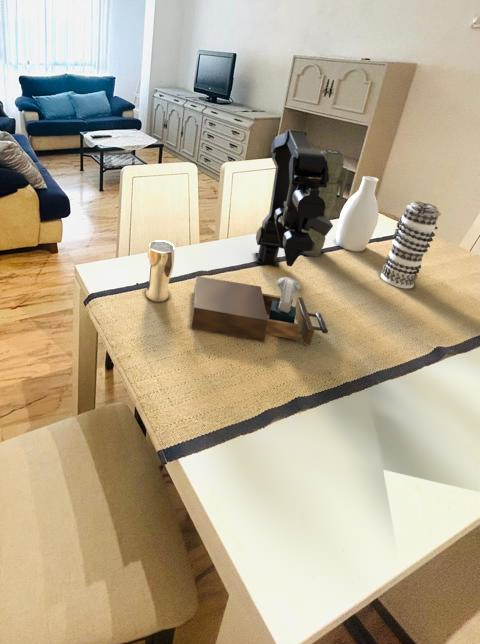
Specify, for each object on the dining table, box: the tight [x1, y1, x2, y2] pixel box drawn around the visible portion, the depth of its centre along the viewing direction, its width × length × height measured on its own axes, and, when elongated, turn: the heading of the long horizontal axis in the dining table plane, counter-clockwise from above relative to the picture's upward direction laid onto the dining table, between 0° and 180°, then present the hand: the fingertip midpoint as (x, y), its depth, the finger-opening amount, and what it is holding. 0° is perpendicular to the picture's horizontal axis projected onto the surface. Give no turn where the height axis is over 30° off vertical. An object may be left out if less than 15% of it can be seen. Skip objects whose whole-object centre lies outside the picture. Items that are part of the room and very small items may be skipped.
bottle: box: [335, 175, 379, 252], centre depth 132 cm, size 11×11×25 cm
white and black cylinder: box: [380, 201, 442, 289], centre depth 112 cm, size 9×9×25 cm
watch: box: [269, 276, 301, 323], centre depth 92 cm, size 6×8×11 cm
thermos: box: [301, 148, 350, 257], centre depth 126 cm, size 9×12×35 cm
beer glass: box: [145, 239, 176, 303], centre depth 102 cm, size 7×7×15 cm
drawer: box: [262, 292, 329, 346], centre depth 94 cm, size 20×12×4 cm, turn 78°
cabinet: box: [191, 275, 268, 342], centre depth 96 cm, size 17×14×6 cm
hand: (285, 256), depth 101 cm, fingers open, 9 cm apart
